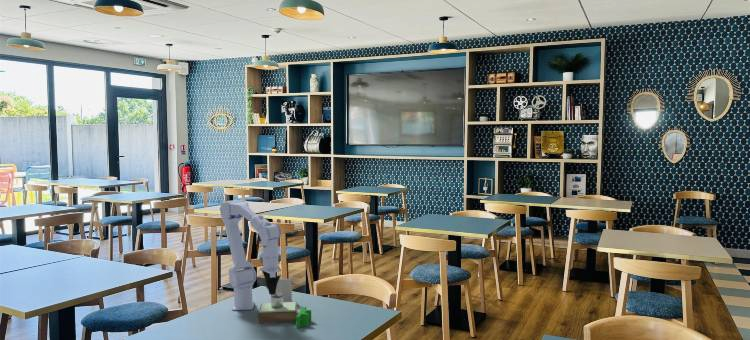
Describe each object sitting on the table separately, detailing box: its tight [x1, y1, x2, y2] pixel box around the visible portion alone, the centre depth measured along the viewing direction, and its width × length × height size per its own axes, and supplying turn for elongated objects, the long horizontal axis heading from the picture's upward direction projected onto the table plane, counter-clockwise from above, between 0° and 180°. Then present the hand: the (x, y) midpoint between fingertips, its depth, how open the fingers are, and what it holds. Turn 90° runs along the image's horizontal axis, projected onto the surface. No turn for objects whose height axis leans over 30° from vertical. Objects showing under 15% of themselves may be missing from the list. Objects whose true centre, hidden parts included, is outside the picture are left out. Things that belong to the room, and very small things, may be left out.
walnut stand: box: [257, 301, 298, 324], centre depth 206 cm, size 11×14×4 cm
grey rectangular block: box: [276, 278, 293, 302], centre depth 225 cm, size 4×7×10 cm, turn 95°
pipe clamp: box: [295, 306, 312, 329], centre depth 200 cm, size 11×4×5 cm, turn 174°
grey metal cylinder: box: [270, 292, 283, 309], centre depth 205 cm, size 4×4×5 cm
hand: (271, 291), depth 206 cm, fingers open, 7 cm apart
